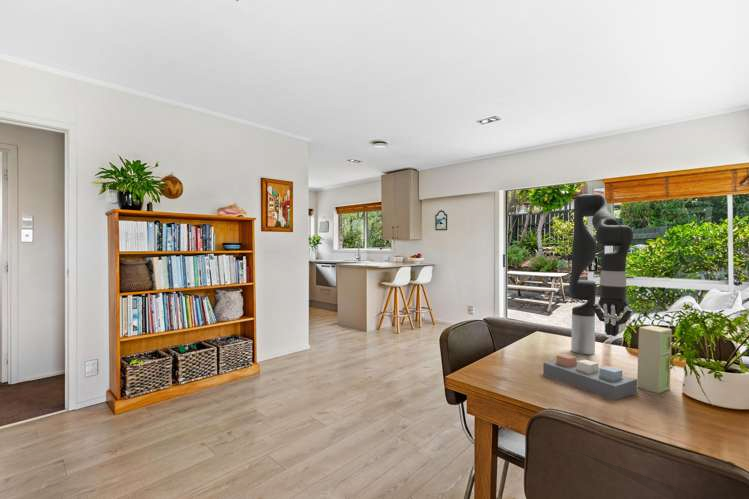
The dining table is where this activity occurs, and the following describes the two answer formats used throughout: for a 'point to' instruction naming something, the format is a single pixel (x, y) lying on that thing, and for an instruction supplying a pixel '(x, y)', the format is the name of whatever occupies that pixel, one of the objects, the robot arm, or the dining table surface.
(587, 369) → the ivory key
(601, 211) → the robot arm
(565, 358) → the terracotta key
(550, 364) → the console
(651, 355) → the toy refrigerator
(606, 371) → the blue key
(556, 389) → the dining table surface
